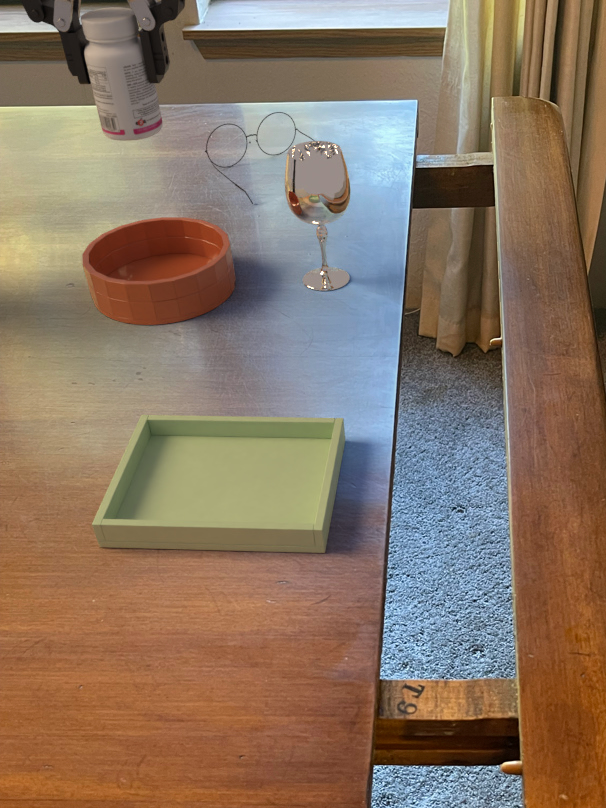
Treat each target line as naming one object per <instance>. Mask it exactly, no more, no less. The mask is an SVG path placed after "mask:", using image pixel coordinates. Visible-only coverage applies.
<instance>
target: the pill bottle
mask: <svg viewBox="0 0 606 808" xmlns="http://www.w3.org/2000/svg"><path fill="white" fill-rule="evenodd" d="M80 23H81V24H82V27H83V32H84V35H85V38H86V39H87V40H88V41H89V43H88V44H87V45H86V46H85V49H84V57H85V61H86V65H87V69H88V74H89V78H90V82H91V84H90V86H91V90H92V94H93V98H94V103H95V106H96V111H97V115H98V118H99V124H100V127H101V130H102V133H103V135H104V136H105V137H106V138H108V139H110V140H114V141H119V142H120V141H121V142H122V141H123V142H124V141H125V142H126V141H128V142H129V141H140V140H145V139H148V138H150V137H154V136H155V135H157V134H158V133H160V131H161V130H162V128H163V124H164V122H163V118H162V112H161V107H160V102H159V96H158V92H157V86H156V83H149V80H148V76H147V71H146V66H145V61H144V56H143V51H142V46H141V41H140V36H139V31H140V30H139V29H140V25H139V22H138V20H137V18H136V16H135V15H134V13H133V11H132V9H131V8H128V7H121V6H120V7H119V6H118V7H115V6H114V7H103V8H97V9H92V10H90V11H87V12H85V13H83V14H82V15H80Z"/></svg>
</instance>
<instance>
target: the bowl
mask: <svg viewBox="0 0 606 808" xmlns="http://www.w3.org/2000/svg"><path fill="white" fill-rule="evenodd" d="M231 247H232V246H231V242H230V238H229V235H228V233H227V232H226V231H224V230H223V229H222V228H221V227H220V226H218V225H217V224H214V223H212V222H209V221H206V220H204V219H198V218H192V217H187V216H186V217H185V216H184V217H183V216H182V217H180V216H178V217H177V216H173V217H172V216H171V217H169V216H166V217H165V216H163V217H154V218H146V219H141V220H137V221H134V222H130V223H126V224H122V225H119V226H117V227H114V228H112V229H109V230H108V231H105V232H103V233H102V234H100V235H99V236H97V237H96V238H94V239H93V240H91V241H90V242H89V243H88V244H87V246H86V247H85V249H84V251H83V252H82V254H81V257H82V259H81V263H82V264H81V265H82V268H83V272H84V274H85V278H86V279H85V280H86V282H87V286H88V289H89V294H90V297H91V300H92V301H93V304H94V306H95V308H96V309H97V310H98V311H99V312H100V313H101V314H102V315H104V316H106V317H107V318H110V319H112V320H114V321H117V322H119V323H120V322H121V323H125V324H131V325H138V326H139V325H141V326H153V325H154V326H158V325H168V324H173V323H178V322H183V321H187V320H191V319H194V318H197V317H199V316H203V315H204V314H207V313H209V312H211V311H213V310H214V309H216V308H218V307H220V306H221V305H222V304H224V303H225V302H226V301H227V300H228V299H229V298H230V296H231V295H232V294H233V292H234V290H235V287H236V279H237V278H236V271H235V265H234V261H233V253H232V248H231Z"/></svg>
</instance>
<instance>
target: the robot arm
mask: <svg viewBox="0 0 606 808" xmlns="http://www.w3.org/2000/svg"><path fill="white" fill-rule="evenodd" d="M19 1H20V2H21V5H22V6H23V9H24V11H25V13H26V14H27V17H28V18H29V20H31V21H32V22H33V23H37V24H39V23H45V24H47V25H50V26H52V27H54V28H55V30H57V32H58V34H59V37H60V41H61V44H62V48H63V52H64V53H63V54H64V57H65V61H66V64H67V68H68V71H69V72H70V74H71V76H72V77H77V81H78V83H79V84H80V85H91V82H90V78H89V74H88V69H87V65H86V61H85V57H84V49H85V46H86V45H87V44H88V43H89V41H88V40H87V39H86V38H85V35H84V32H83V27H82V23H81V20H80V19H81V5H82V0H19ZM126 1H127V3H128V5H129V6H130V9H132V11H133V13H134V15H135V16H136V18H137V22H138V25H139V27H140V28H141V29H140V30H139V34H138V37H140V41H141V46H142V51H143V56H144V61H145V66H146V71H147V76H148V80H149V83H155V84H160V83H161V82H162V81H163V79H164V78H165V75H166V73H167V72H168V71H169V69H170V65H171V60H170V54H169V49H168V44H167V38H166V33H165V27H164V26H165V24H166V23H168V22H171V21H175V20H176V19H177V18H178V16H179V15H180V14H181V13H182V12H183V10H184V9H185V7H186V0H126Z"/></svg>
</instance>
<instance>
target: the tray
mask: <svg viewBox="0 0 606 808" xmlns="http://www.w3.org/2000/svg"><path fill="white" fill-rule="evenodd" d="M345 444H346V431H345V420H344V418H343V417H305V416H304V417H303V416H300V417H299V416H297V417H296V416H293V417H292V416H245V415H243V416H236V415H235V416H234V415H233V416H231V415H228V416H227V415H179V414H178V415H177V414H176V415H172V414H141V415H140V417H139V419H138V420H137V423H136V425H135V428H134V429H133V432H132V434H131V437H130V439H129V441H128V443H127V446H126V447H125V450H124V452H123V454H122V456H121V459H120V461H119V463H118V466H117V467H116V470H115V472H114V474H113V476H112V479H111V480H110V483H109V485H108V487H107V489H106V491H105V494H104V496H103V498H102V500H101V502H100V505H99V507H98V510H97V511H96V514H95V516H94V518H93V520H92V523H91V527H92V529H93V532H94V536H95V539H96V541H97V544H98V547H99V548H108V549H109V548H112V549H113V548H115V549H149V550H150V549H152V550H153V549H155V550H188V551H189V550H192V551H225V552H226V551H228V552H234V551H235V552H236V551H237V552H264V553H265V552H268V553H269V552H271V553H304V554H305V553H309V554H310V553H312V554H325V553H326V549H327V546H328V545H327V544H328V540H329V534H330V528H331V522H332V516H333V512H334V505H335V499H336V493H337V489H338V483H339V478H340V471H341V466H342V462H343V455H344V451H345Z"/></svg>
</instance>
